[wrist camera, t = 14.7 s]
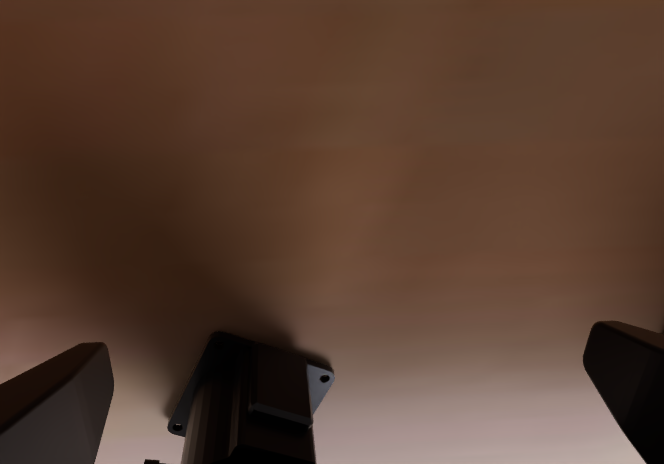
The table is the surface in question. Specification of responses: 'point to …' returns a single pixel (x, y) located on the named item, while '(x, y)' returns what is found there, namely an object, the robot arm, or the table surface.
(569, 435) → the table surface
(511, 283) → the table surface
